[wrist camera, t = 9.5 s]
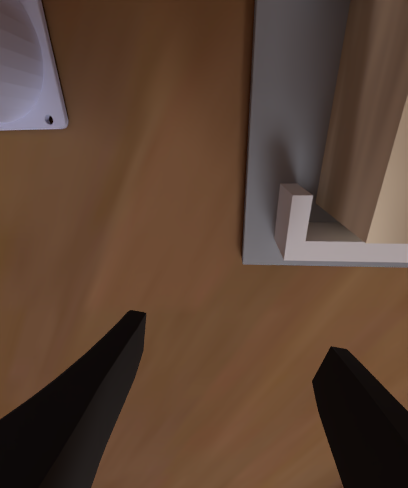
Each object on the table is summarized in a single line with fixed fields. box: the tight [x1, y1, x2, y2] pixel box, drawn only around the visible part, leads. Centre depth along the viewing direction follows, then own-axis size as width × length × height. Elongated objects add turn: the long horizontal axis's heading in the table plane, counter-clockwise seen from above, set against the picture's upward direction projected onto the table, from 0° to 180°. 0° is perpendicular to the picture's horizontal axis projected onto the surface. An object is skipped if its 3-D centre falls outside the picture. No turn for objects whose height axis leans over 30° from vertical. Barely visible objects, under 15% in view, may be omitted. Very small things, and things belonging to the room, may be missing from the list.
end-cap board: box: [242, 0, 408, 267], centre depth 12 cm, size 12×20×4 cm, turn 1°
